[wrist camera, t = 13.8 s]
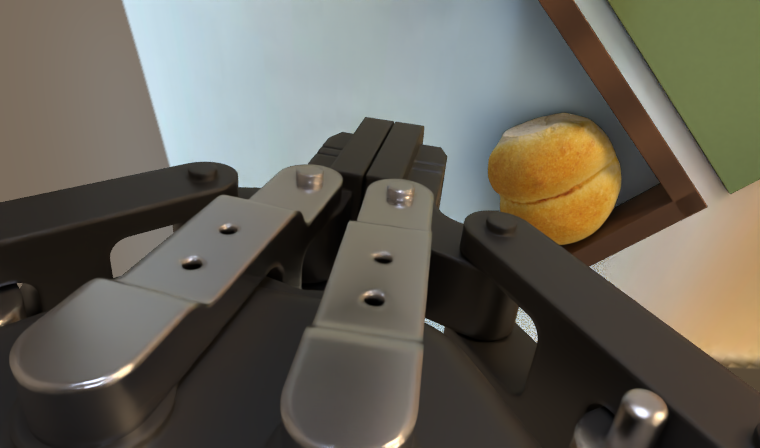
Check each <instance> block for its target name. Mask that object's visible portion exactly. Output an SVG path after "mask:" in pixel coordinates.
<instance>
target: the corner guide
mask: <svg viewBox="0 0 760 448" xmlns="http://www.w3.org/2000/svg"><path fill="white" fill-rule="evenodd" d="M538 1H539V2H540V4H541V5H542V7H543V8H544V10H545V11H546V13H547V14H548V16H549V17H550V19H551V20H552V22H553V23H554V25H555V26H556V28H557V29H558V31H559V32H560V34H561V35H562V37H563V38H564V40H565V41H566V43H567V44H568V46H569V47H570V49H571V50H572V52H573V53H574V55H575V56H576V58H577V59H578V61H579V62H580V64H581V65H582V67H583V68H584V70H585V71H586V73H587V74H588V76H589V77H590V79H591V80H592V82H593V83H594V85H595V86H596V87H597V89H598V90H599V92H600V93H601V95H602V96H603V98H604V99H605V101H606V102H607V104H608V105H609V107H610V108H611V110H612V111H613V113H614V114H615V116H616V117H617V119H618V120H619V122H620V123H621V125H622V126H623V128H624V129H625V131H626V132H627V134H628V135H629V137H630V138H631V140H632V141H633V143H634V144H635V146H636V147H637V149H638V150H639V152H640V153H641V155H642V156H643V158H644V159H645V161H646V162H647V164H648V165H649V167H650V168H651V170H652V171H653V173H654V174H655V176H656V177H657V179H658V180H659V182H660V184H658V185H657V186H655V187H653V188H651V189H649V190H647V191H645V192H644V193H642V194H640V195H638V196H636V197H634V198H632V199H631V200H629V201H627V202H625V203H623V204H621V205H620V206H618V207H616V208H614V209H613V211H612V212H611V213H610V215H609V216H608V218H607V219H606V221H605V222H604V223H603V224H602V225H601V227H600V228H599V229H598V230H596V231H595V232H594V233H593V234H591V235H590V236H588V237H586V238H584V239H582V240H580V241H577V242H574V243H570V244H565V245H560V246H561V247H563V248H564V249H565V250H567V251H568V252H569V253H571V254H572V255H573V256H575V257H576V258H578V259H579V260H580V261H582V262H583V263H584V264H586V265H587V266H588V267H589V266H591V265H593V264H595V263H597V262H599V261H601V260H603V259H605V258H607V257H609V256H611V255H613V254H615V253H617V252H619V251H621V250H623V249H625V248H627V247H629V246H631V245H633V244H635V243H637V242H639V241H641V240H643V239H645V238H647V237H649V236H651V235H653V234H655V233H657V232H659V231H661V230H663V229H665V228H667V227H669V226H671V225H673V224H675V223H677V222H678V221H680V220H682V219H684V218H687V217H689V216H691V215H693V214H695V213H697V212H699V211H701V210H703V209H705V208H707V207H708V206H707V205H706V203H705V201H704V200H703V198H702V197H701V195H700V194H699V192H698V191H697V189H696V188H695V186H694V185H693V183H692V181H691V180H690V178H689V177H688V175H687V174H686V172H685V171H684V169H683V168H682V166H681V164H680V163H679V161H678V160H677V158H676V157H675V155H674V154H673V152H672V151H671V149H670V148H669V146H668V144H667V143H666V141H665V140H664V138H663V137H662V135H661V134H660V132H659V131H658V129H657V128H656V126H655V124H654V123H653V121H652V120H651V118H650V117H649V115H648V114H647V112H646V111H645V109H644V108H643V106H642V104H641V103H640V101H639V100H638V98H637V97H636V95H635V94H634V92H633V91H632V89H631V88H630V86H629V84H628V83H627V81H626V80H625V78H624V77H623V75H622V74H621V72H620V71H619V69H618V68H617V66H616V64H615V63H614V61H613V60H612V58H611V57H610V55H609V54H608V52H607V51H606V49H605V48H604V46H603V44H602V43H601V41H600V40H599V38H598V37H597V35H596V34H595V32H594V31H593V29H592V28H591V26H590V24H589V23H588V21H587V20H586V18H585V17H584V15H583V14H582V12H581V11H580V9H579V8H578V6H577V4H576V3H575V1H574V0H538Z"/></svg>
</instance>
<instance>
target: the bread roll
mask: <svg viewBox="0 0 760 448" xmlns="http://www.w3.org/2000/svg"><path fill="white" fill-rule="evenodd" d="M488 178H489V181H490V183H491V186H492V188H493V189H494V190H495V191H496V192H497V193H498V194H499V195H500V212H505V213H509V214H512V215H515V216H518V217H520V218H522V219H524V220H526V221H527V222H529V223H530V224H531V225H533V226H534V227H535V228H537V229H538V230H540V231H541V232H542V233H544V234H545V235H546V236H548V237H549V238H550V239H552V240H553V241H554V242H556V243H557V244H559V245H565V244H570V243H574V242H577V241H580V240H582V239H584V238H586V237H588V236H590V235H591V234H593V233H594V232H595V231H596V230H598V229H599V228H600V227H601V225H602V224H603V223H604V222H605V221H606V219H607V218H608V216H609V215H610V213H611V212H612V211H613V208H614V206H615V203H616V201H617V198H618V195H619V192H620V189H621V179H622V178H621V168H620V164H619V161H618V159H617V157H616V153H615V150H614V148H613V146H612V143H611V141H610V139H609V138H608V136H607V135H606V134H605V133H604V131H603V130H602V129H601V128H600V127H599V126H598V125H596V124H595V123H594V122H593V121H592V120H590V119H588V118H586V117H582V116H578V115H574V114H569V113H558V114H553V115H549V116H544V117H539V118H536V119H533V120H531V121H527V122H525V123H522V124H520V125H517V126H515V127H512V128H510V129H508V130H507V131H506V132H505V133H503V135H502V137H501V139H500V141H499V143H498V144H497V146H496V147H495V148H494V150H493V151H492V153H491V155H490V157H489V162H488Z"/></svg>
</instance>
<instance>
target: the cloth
mask: <svg viewBox="0 0 760 448" xmlns="http://www.w3.org/2000/svg"><path fill="white" fill-rule="evenodd" d="M607 1H608V2H609V4H610V5H611V7H612V9H613V10H614V12H615V13H616V15H617V16H618V18H619V20H620V21H621V23H622V24H623V26H624V28H625V29H626V31H627V32H628V34H629V35H630V37H631V39H632V40H633V42H634V43H635V45H636V46H637V48H638V50H639V51H640V53H641V54H642V56H643V58H644V59H645V61H646V62H647V64H648V65H649V67H650V69H651V70H652V72H653V73H654V75H655V77H656V78H657V80H658V81H659V83H660V84H661V86H662V88H663V89H664V91H665V92H666V94H667V96H668V97H669V99H670V100H671V102H672V103H673V105H674V107H675V108H676V110H677V111H678V113H679V114H680V116H681V118H682V119H683V121H684V122H685V124H686V126H687V127H688V129H689V130H690V132H691V133H692V135H693V137H694V138H695V140H696V141H697V143H698V145H699V146H700V148H701V149H702V151H703V152H704V154H705V156H706V157H707V159H708V160H709V162H710V164H711V165H712V167H713V168H714V170H715V171H716V173H717V175H718V176H719V178H720V179H721V181H722V182H723V184H724V186H725V187H726V189H727V190H728V192H729V193H730V194H732V193H734V192H736V191H738V190H740V189H742V188H743V187H745V186H747V185H749V184H751V183H753V182H755V181H757V180H759V179H760V0H607Z"/></svg>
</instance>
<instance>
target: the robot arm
mask: <svg viewBox="0 0 760 448" xmlns="http://www.w3.org/2000/svg"><path fill="white" fill-rule="evenodd" d="M423 137H424V126H421V125H415V124H408V123H402V122H395V124H394V121H388V120H382V119H375V118H369V117H365V118H364V120H363V121H362V122H361V124H360V125H359V127H358V128H357V130H356V131H355V132H354V134H352V133H346V132H341V133H339V134H336V135H334V136H332V137H329V138H328V139H327V141H326V142H325V143H324V144H323V146H322V147H321V148H320V149H319V151H318V152H317V154H315V156H314V157H313V158H312V159H311V161H310V162H309V163H308V164H302V165H294V166H290V167H287V168H284V169H282V170H281V171H279V172H278V173H277V174H276V175H275V176H274V177H273V178H272V179H271V180H269V181H268V182H267V183H266V184H265V185H264V186H263V187H262V188H242V187H238V173H237V171H236V170H235V169H233V168H232V167H230V166H228V165H225V164H221V163H215V162H194V163H188V164H183V165H178V166H173V167H169V168H164V169H159V170H154V171H149V172H145V173H140V174H135V175H130V176H126V177H121V178H116V179H111V180H106V181H102V182H97V183H92V184H87V185H82V186H77V187H73V188H68V189H63V190H58V191H54V192H49V193H44V194H39V195H35V196H29V197H24V198H20V199H15V200H10V201H5V202H0V448H760V393H759V392H758V391H757V390H755V389H754V388H753V387H751V386H750V385H748V384H747V383H746V382H744V381H743V380H742V379H740V378H739V377H738V376H736V375H735V374H733V373H732V372H731V371H729V370H728V369H727V368H725V367H724V366H723V365H721V364H720V363H719V362H717V361H716V360H715V359H713V358H712V357H710V356H709V355H708V354H706V353H705V352H704V351H702V350H701V349H700V348H698V347H697V346H696V345H694V344H693V343H691V342H690V341H689V340H687V339H686V338H685V337H683V336H682V335H681V334H679V333H678V332H677V331H675V330H674V329H672V328H671V327H670V326H668V325H667V324H666V323H664V322H663V321H662V320H660V319H659V318H658V317H656V316H655V315H654V314H652V313H651V312H649V311H648V310H647V309H645V308H644V307H643V306H641V305H640V304H639V303H637V302H636V301H635V300H633V299H632V298H630V297H629V296H628V295H626V294H625V293H624V292H622V291H621V290H620V289H618V288H617V287H616V286H614V285H613V284H611V283H610V282H609V281H607V280H606V279H605V278H603V277H602V276H601V275H599V274H598V273H597V272H595V271H594V270H592V269H591V268H590V267H588V266H587V265H586V264H584V263H583V262H582V261H580V260H579V259H578V258H576V257H575V256H573V255H572V254H571V253H569V252H568V251H567V250H565V249H564V248H563V247H561V246H560V245H559V244H557V243H556V242H554V241H553V240H552V239H550V238H549V237H548V236H546V235H545V234H544V233H542V232H541V231H540V230H538V229H537V228H535V227H534V226H533V225H531V224H530V223H529V222H527V221H526V220H524V219H522V218H520V217H518V216H515V215H512V214H509V213H505V212H500V211H479V212H475V213H472V214H470V215H468V216H467V217H466V218H465V221H464V224H462V223H460V222H457V221H455V220H453V219H451V218H449V217H447V216H446V215H444V214H443V213H442V212H441V211H440V210H439V206H440V200H441V194H442V188H443V181H444V175H445V169H446V162H447V155H446V154H445V152H444V151H443V150H442V148H441V147H434V146H428V145H423ZM170 225H173V232H174V233H173V234H172V235H170V236H169V237H168V238H167V239H166V240H164V241H163V242H162V243H161V244H159V245H158V246H157V247H156V248H155V249H153V250H152V251H151V252H150V253H148V254H147V255H146V256H145V257H144V258H142V259H141V260H140V261H139V262H138V263H136V264H135V265H134V266H133V267H131V268H130V269H129V270H128V271H127V272H125V273H124V274H123V275H122V276H119V277H116V278H113V275H112V269H111V262H110V253H111V250H112V248H113V247H114V246H115V244H116V243H117V242H119V241H120V240H122V239H124V238H126V237H129V236H132V235H137V234H140V233H144V232H148V231H151V230H155V229H159V228H162V227H166V226H170ZM17 283H23V284H22V286H21V288H20V289H19V287H18V285H17ZM519 307H520V308H521V309H522V310H523V311H525V312H526V313H527V314H528V315H529V316H530V318H531V319H532V321H533V322H534V324H535V327H536V330H537V335H538V342H537V343H536V342H535V341H534V340H533V339H532V338H531V337H530V336H529V335H528V334H527V333H526V332H525V331H524V330H523V329H522V328H520V327H519V326H518V325H517V324H516V323H515V320H516V316H517V312H518V308H519ZM425 318H427V319H429V320H431V321H434V322H436V323H438V324H440V325H443V326H445V328H444V334H443V333H442V332H440V331H439V330H437V329H436V328H434V327H432V326H430V325H428V324H426V323H424V321H425Z"/></svg>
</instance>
